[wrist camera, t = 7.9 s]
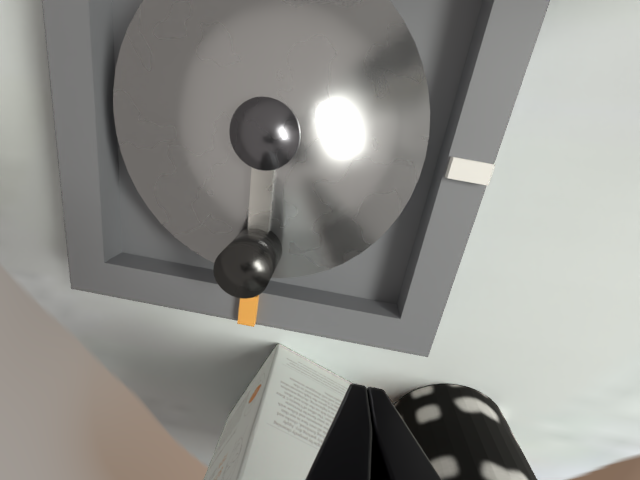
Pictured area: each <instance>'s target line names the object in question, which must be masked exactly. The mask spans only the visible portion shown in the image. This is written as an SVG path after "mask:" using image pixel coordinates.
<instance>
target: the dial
mask: <svg viewBox="0 0 640 480" xmlns="http://www.w3.org/2000/svg"><path fill="white" fill-rule="evenodd" d="M113 112H114V120H115V127H116V134H117V138H118V142H119V146H120V150H121V154H122V157H123V160H124V162H125V165H126V168H127V170H128V173H129V175H130V177H131V179H132V181H133V183H134V185H135V187H136V189H137V191H138V193H139V194H140V196H141V197H142V199H143V200H144V202H145V203H146V205H147V207H148V208H149V209H150V211H151V212H152V213H153V214H154V216H155V217H156V218H157V219H158V220H159V222H160V223H161V224H162V225H163V226H164V227H165V228H166V229H167V230H168V231H169V232H170V233H171V234H172V235H173V236H174V237H175V238H177V239H178V240H179V241H180V242H182V243H183V244H184V245H185V246H187V247H188V248H189V249H191V250H192V251H194V252H196V253H197V254H199V255H200V256H202V257H204V258H205V259H207V260H209V261H211V262H213V263H214V267H213V272H214V277H215V280H216V282H217V283H218V285H219V286H220V287H221V289H223V290H224V291H225V292H226V293H228V294H229V295H231V296H234V297H237V298H243V299H247V298H253V297H255V296H258V295H259V294H261V293H262V292H263V291H264V290H265V289H266V287H267V285H268V283H269V281H270V279H271V278H292V277H299V276H306V275H311V274H315V273H319V272H322V271H326V270H329V269H331V268H333V267H336V266H338V265H341V264H343V263H345V262H347V261H348V260H350V259H352V258H354V257H355V256H357V255H359V254H360V253H362V252H363V251H364V250H366V249H367V248H368V247H370V246H371V245H372V244H374V243H375V242H376V241H377V240H378V239H379V238H380V237H381V236H382V235H383V234H384V233H385V232H386V231H387V230H388V229H389V228H390V226H391V225H392V224H393V223H394V221H395V220H396V219H397V218H398V216H399V215H400V214H401V212H402V211H403V209H404V207H405V206H406V204H407V202H408V201H409V199H410V197H411V195H412V193H413V191H414V189H415V186H416V184H417V182H418V180H419V177H420V174H421V170H422V167H423V164H424V161H425V157H426V151H427V146H428V140H429V130H430V104H429V92H428V85H427V81H426V76H425V71H424V67H423V63H422V61H421V58H420V55H419V52H418V49H417V47H416V44H415V41H414V39H413V37H412V35H411V33H410V32H409V30H408V28H407V26H406V24H405V22H404V20H403V18H402V17H401V16H400V14H399V13H398V11H397V10H396V8H395V7H394V6H393V4H392V3H391V1H390V0H143V2H142V3H141V4H140V6H139V8H138V10H137V11H136V13H135V15H134V17H133V19H132V20H131V22H130V24H129V26H128V29H127V31H126V34H125V37H124V39H123V42H122V44H121V48H120V52H119V56H118V60H117V64H116V69H115V78H114V87H113Z"/></svg>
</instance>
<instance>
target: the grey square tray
mask: <svg viewBox="0 0 640 480" xmlns="http://www.w3.org/2000/svg"><path fill="white" fill-rule="evenodd" d="M390 1H391V3H392V4H393V6H394V7H395V8H396V10H397V11H398V13H399V14H400V16H401V17H402V18H403V20H404V22H405V24H406V26H407V28H408V30H409V32H410V33H411V35H412V37H413V39H414V41H415V44H416V47H417V49H418V52H419V55H420V58H421V61H422V63H423V67H424V71H425V76H426V81H427V85H428V92H429V104H430V130H429V140H428V146H427V151H426V157H425V161H424V164H423V167H422V170H421V174H420V177H419V180H418V182H417V184H416V186H415V189H414V191H413V193H412V195H411V197H410V199H409V201H408V202H407V204H406V206H405V207H404V209H403V211H402V212H401V214H400V215H399V216H398V218H397V219H396V220H395V221H394V223H393V224H392V225H391V226H390V228H389V229H388V230H387V231H386V232H385V233H384V234H383V235H382V236H381V237H380V238H379V239H378V240H377V241H376V242H375V243H374V244H372V245H371V246H370V247H368V248H367V249H366V250H364V251H363V252H362V253H360V254H359V255H357V256H355V257H354V258H352V259H350V260H348V261H347V262H345V263H343V264H341V265H338V266H336V267H333V268H331V269H329V270H326V271H322V272H319V273H315V274H311V275H306V276H299V277H292V278H271V279H270V281H269V283H268V285H267V287H266V289H265V290H264V291H263V292H262V293H261V294H259V295H258V296H255V297H253V298H247V299H243V298H237V297H234V296H231V295H229V294H228V293H226V292H225V291H224V290H223V289H221V287H220V286H219V285H218V283H217V282H216V280H215V277H214V272H213V267H214V263H213V262H211V261H209V260H207V259H205V258H204V257H202V256H200V255H199V254H197V253H196V252H194V251H192V250H191V249H189V248H188V247H187V246H185V245H184V244H183V243H182V242H180V241H179V240H178V239H177V238H175V237H174V236H173V235H172V234H171V233H170V232H169V231H168V230H167V229H166V228H165V227H164V226H163V225H162V224H161V223H160V222H159V220H158V219H157V218H156V217H155V216H154V214H153V213H152V212H151V211H150V209H149V208H148V207H147V205H146V203H145V202H144V200H143V199H142V197H141V196H140V194H139V193H138V191H137V189H136V187H135V185H134V183H133V181H132V179H131V177H130V175H129V173H128V170H127V168H126V165H125V162H124V160H123V157H122V154H121V150H120V146H119V142H118V138H117V134H116V127H115V120H114V112H113V87H114V78H115V69H116V64H117V60H118V56H119V52H120V48H121V44H122V42H123V39H124V37H125V34H126V31H127V29H128V26H129V24H130V22H131V20H132V19H133V17H134V15H135V13H136V11H137V10H138V8H139V6H140V4H141V3H142V2H143V0H42V3H43V13H44V23H45V33H46V43H47V53H48V63H49V73H50V83H51V93H52V103H53V113H54V123H55V133H56V143H57V153H58V163H59V173H60V183H61V193H62V203H63V212H64V222H65V232H66V242H67V252H68V262H69V272H70V282H71V289H76V290H81V291H86V292H92V293H97V294H102V295H107V296H112V297H118V298H123V299H128V300H133V301H138V302H144V303H149V304H154V305H159V306H164V307H170V308H175V309H180V310H185V311H190V312H196V313H201V314H206V315H211V316H216V317H222V318H227V319H232V320H237V321H238V323H237V324H242V325H248V326H253V327H254V325H255V324H258V325H263V326H269V327H274V328H279V329H284V330H289V331H295V332H300V333H305V334H310V335H315V336H321V337H326V338H331V339H336V340H341V341H347V342H352V343H357V344H362V345H367V346H373V347H378V348H383V349H388V350H393V351H399V352H404V353H409V354H414V355H419V356H425V357H428V355H429V352H430V349H431V346H432V343H433V341H434V338H435V335H436V332H437V329H438V326H439V323H440V320H441V317H442V314H443V311H444V308H445V306H446V303H447V300H448V297H449V294H450V291H451V288H452V285H453V282H454V279H455V276H456V273H457V270H458V268H459V265H460V262H461V259H462V256H463V253H464V250H465V247H466V244H467V241H468V238H469V235H470V233H471V230H472V227H473V224H474V221H475V218H476V215H477V212H478V209H479V206H480V203H481V200H482V198H483V195H484V192H485V189H486V186H488V185H489V182H490V179H491V176H492V173H493V170H494V168H495V165H494V162H495V160H496V157H497V154H498V151H499V148H500V145H501V142H502V139H503V136H504V133H505V130H506V127H507V125H508V122H509V119H510V116H511V113H512V110H513V107H514V104H515V101H516V98H517V95H518V92H519V90H520V87H521V84H522V81H523V78H524V75H525V72H526V69H527V66H528V63H529V60H530V57H531V54H532V52H533V49H534V46H535V43H536V40H537V37H538V34H539V31H540V28H541V25H542V22H543V19H544V17H545V14H546V11H547V8H548V5H549V2H550V0H390Z"/></svg>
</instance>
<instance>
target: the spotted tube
mask: <svg viewBox="0 0 640 480" xmlns="http://www.w3.org/2000/svg"><path fill="white" fill-rule="evenodd" d="M394 406H395V408H396V410H397V411H398V413H399V414H400V416H401V417H402V419H403V420H404V422H405V423H406V425H407V427H408V428H409V430H410V431H411V433H412V434H413V436H414V437H415V439H416V440H417V442H418V444H419V445H420V447H421V448H422V450H423V451H424V453H425V454H426V456H427V457H428V459H429V461H430V462H431V464H432V465H433V467H434V468H435V470H436V471H437V473H438V474H439V476H440V478H441V479H442V480H537V479H536V477H535V475H534V473H533V471H532V469H531V467H530V465H529V463H528V462H527V460H526V458H525V456H524V454H523V452H522V450H521V448H520V446H519V444H518V443H517V441H516V439H515V437H514V435H513V433H512V431H511V429H510V427H509V426H508V424H507V422H506V420H505V418H504V416H503V414H502V412H501V411H500V409H499V408H498V406H497V405H496V404H495V403H494V402H493V401H492V400H491V399H490V398H489V397H487V396H486V395H484V394H483V393H481V392H479V391H477V390H474V389H472V388H469V387H465V386H460V385H451V384H441V385H431V386H427V387H423V388H420V389H417V390H415V391H413V392H410V393H409V394H407V395H405V396H404V397H402V398H401V399H400V400H399V401H398V402H397V403H395V404H394Z"/></svg>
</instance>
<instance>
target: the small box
mask: <svg viewBox="0 0 640 480" xmlns="http://www.w3.org/2000/svg"><path fill="white" fill-rule="evenodd" d="M350 384H353V383H351V382H349V381H347V380H345V379H343V378H342V377H340V376H338V375H336V374H334V373H332V372H331V371H329V370H327V369H325V368H323V367H321V366H320V365H318V364H316V363H314V362H312V361H311V360H309V359H307V358H305V357H303V356H302V355H300V354H298V353H296V352H294V351H292V350H290V349H288V348H287V347H285V346H283V345H281V344H277V345H276V347H275V348H274V350H273V351H272V353H271V354H270V355H269V357H268V358H267V360H266V361H265V363H264V364H263V365H262V367H261V368H260V370H259V371H258V373H257V374H256V376H255V377H254V379H253V380H252V382H251V383H250V385H249V386H248V388H247V389H246V391H245V392H244V394H243V395H242V396H241V398H240V399H239V401H238V402H237V404H236V405H235V407H234V408H233V410H232V412H231V413H230V415H229V416H228V419H227V421H226V424H225V426H224V429H223V431H222V434H221V437H220V439H219V442H218V444H217V447H216V449H215V452H214V454H213V457H212V460H211V462H210V465H209V467H208V470H207V472H206V475H205V478H204V480H305V479H306V477H307V475H308V473H309V470H310V468H311V466H312V464H313V462H314V460H315V458H316V456H317V453H318V451H319V449H320V447H321V445H322V443H323V441H324V439H325V436H326V434H327V432H328V430H329V428H330V426H331V424H332V422H333V419H334V417H335V415H336V413H337V411H338V409H339V407H340V404H341V402H342V400H343V398H344V396H345V394H346V392H347V390H348V387H349V385H350Z"/></svg>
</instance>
